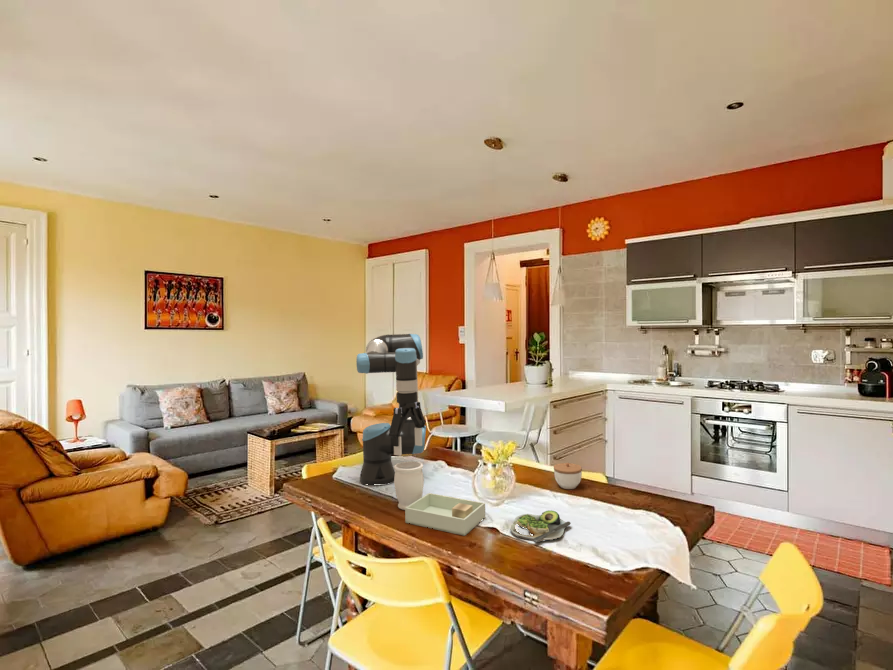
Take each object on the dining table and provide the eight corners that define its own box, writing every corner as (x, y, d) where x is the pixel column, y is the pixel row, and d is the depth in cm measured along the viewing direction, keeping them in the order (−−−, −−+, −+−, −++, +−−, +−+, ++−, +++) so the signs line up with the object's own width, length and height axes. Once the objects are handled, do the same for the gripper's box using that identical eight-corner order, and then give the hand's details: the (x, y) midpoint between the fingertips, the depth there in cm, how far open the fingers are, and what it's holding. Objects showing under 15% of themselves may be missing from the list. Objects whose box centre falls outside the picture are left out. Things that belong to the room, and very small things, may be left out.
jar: (426, 500, 182) (425, 460, 181) (422, 512, 172) (420, 469, 171) (398, 500, 183) (396, 460, 182) (392, 511, 173) (390, 469, 172)
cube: (472, 520, 162) (472, 505, 162) (465, 526, 158) (465, 510, 158) (459, 517, 165) (459, 503, 164) (452, 523, 160) (451, 508, 160)
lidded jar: (585, 484, 195) (585, 461, 194) (577, 493, 186) (576, 468, 185) (559, 480, 201) (559, 457, 200) (550, 488, 192) (549, 464, 191)
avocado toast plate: (563, 551, 141) (563, 535, 141) (503, 542, 148) (502, 527, 148) (572, 524, 159) (572, 510, 159) (518, 517, 166) (518, 503, 166)
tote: (429, 506, 176) (428, 492, 176) (485, 517, 165) (485, 503, 165) (405, 522, 163) (405, 507, 163) (464, 535, 152) (464, 519, 152)
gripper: (416, 385, 188) (418, 440, 189) (377, 396, 167) (379, 458, 168) (433, 386, 185) (435, 442, 186) (395, 397, 163) (397, 460, 164)
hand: (408, 450), depth 177 cm, fingers open, 13 cm apart
